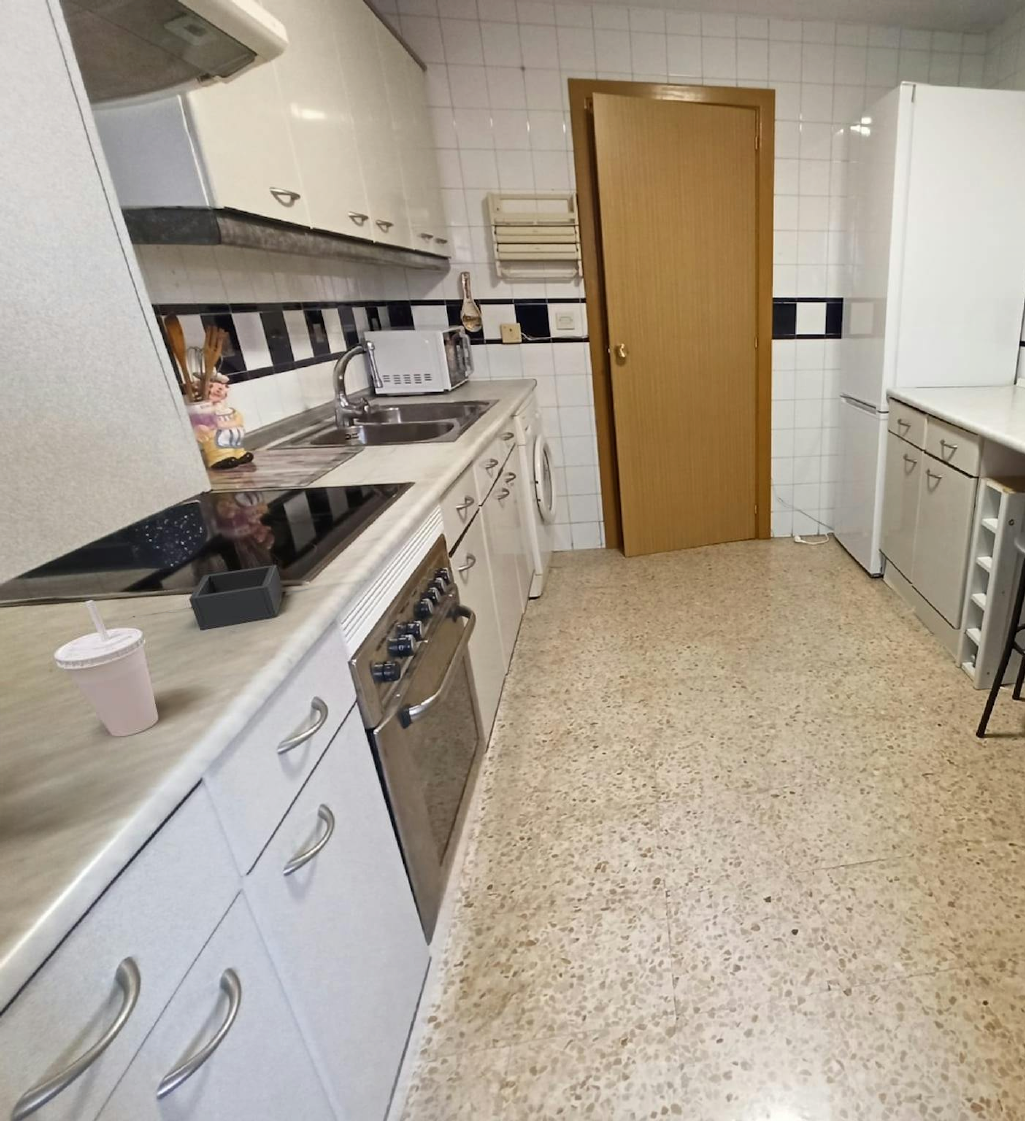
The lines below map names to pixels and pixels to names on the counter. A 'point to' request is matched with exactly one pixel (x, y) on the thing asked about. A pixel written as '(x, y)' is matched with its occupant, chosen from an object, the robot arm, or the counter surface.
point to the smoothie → (112, 676)
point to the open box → (237, 597)
